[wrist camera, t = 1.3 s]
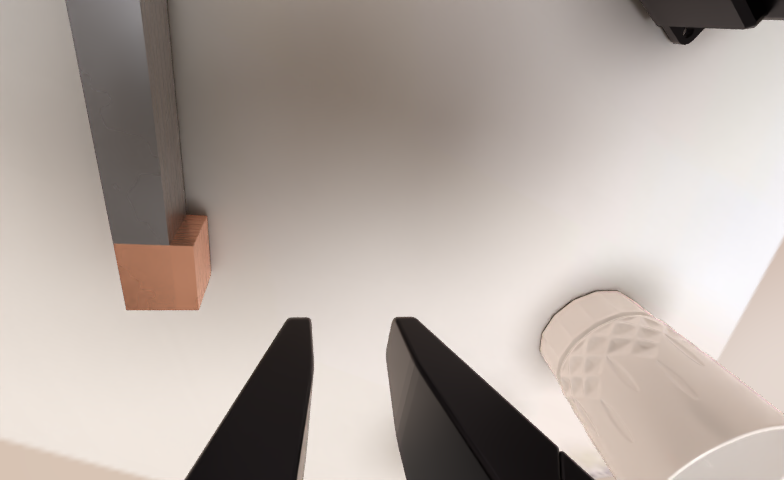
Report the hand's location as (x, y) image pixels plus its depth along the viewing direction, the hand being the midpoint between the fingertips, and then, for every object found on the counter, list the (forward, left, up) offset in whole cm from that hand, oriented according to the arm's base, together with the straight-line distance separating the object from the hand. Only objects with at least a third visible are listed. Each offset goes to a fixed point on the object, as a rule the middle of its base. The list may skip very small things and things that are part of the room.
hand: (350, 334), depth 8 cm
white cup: (0, +20, -11) cm, 23 cm away
